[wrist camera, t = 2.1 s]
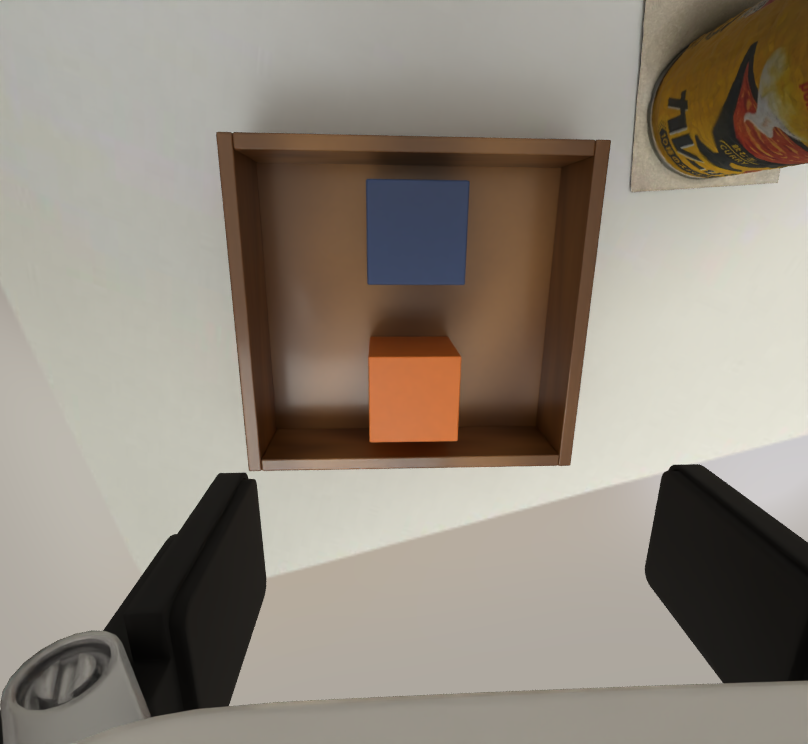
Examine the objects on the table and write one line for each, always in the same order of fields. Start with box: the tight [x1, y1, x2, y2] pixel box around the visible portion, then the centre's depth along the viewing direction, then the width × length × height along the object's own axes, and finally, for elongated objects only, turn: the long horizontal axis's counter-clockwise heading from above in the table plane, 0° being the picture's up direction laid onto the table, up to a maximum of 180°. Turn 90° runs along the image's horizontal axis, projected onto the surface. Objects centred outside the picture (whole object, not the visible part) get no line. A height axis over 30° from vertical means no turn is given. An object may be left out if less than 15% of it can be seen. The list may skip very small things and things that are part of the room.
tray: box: [216, 132, 611, 471], centre depth 22 cm, size 15×14×4 cm
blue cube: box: [366, 179, 470, 285], centre depth 20 cm, size 4×4×4 cm
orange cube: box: [368, 337, 462, 442], centre depth 22 cm, size 4×4×4 cm
